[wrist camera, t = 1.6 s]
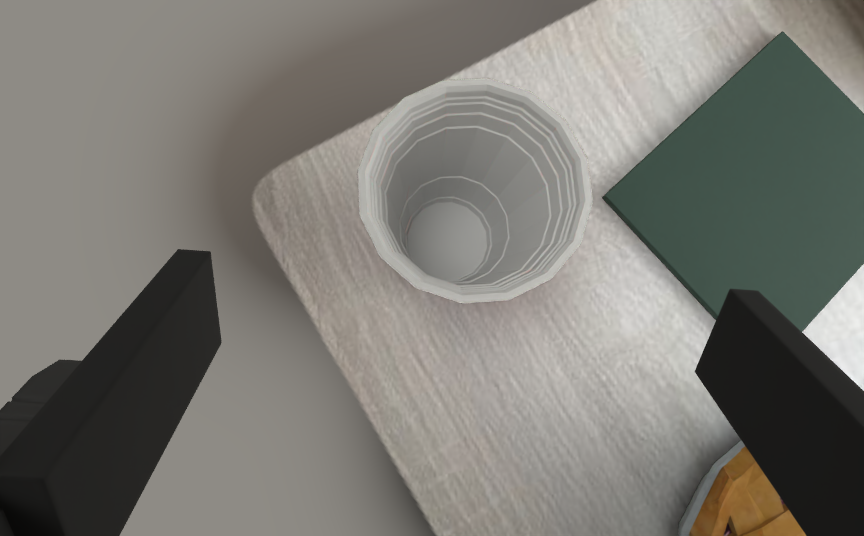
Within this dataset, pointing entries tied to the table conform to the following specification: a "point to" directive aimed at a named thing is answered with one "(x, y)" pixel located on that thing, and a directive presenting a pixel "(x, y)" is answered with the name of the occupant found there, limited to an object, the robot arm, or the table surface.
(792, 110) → the placemat
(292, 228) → the table surface
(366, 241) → the table surface
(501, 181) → the plastic cup
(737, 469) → the pie
